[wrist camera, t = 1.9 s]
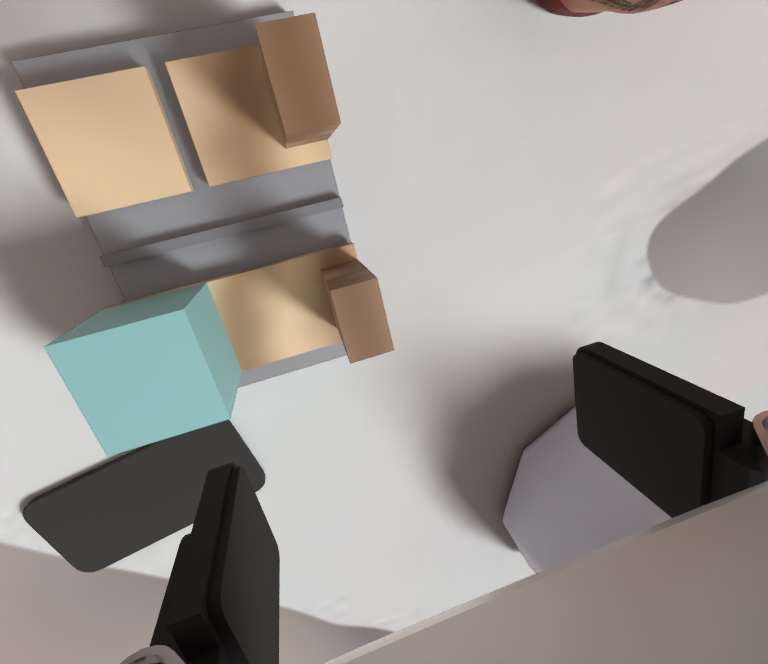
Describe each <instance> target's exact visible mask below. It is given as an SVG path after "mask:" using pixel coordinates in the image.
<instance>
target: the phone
mask: <svg viewBox="0 0 768 664" xmlns="http://www.w3.org/2000/svg"><path fill="white" fill-rule="evenodd" d="M231 462H232V463H234V464H235V466H236V467H237V466H240V465H242V466H243V467H244V468H245V470H246V473H247V475H248V477H249V480H250V482H251V484H252V487H253V489H254V491H255V492H257V491H258V490H260V489H261V488H262V487H263V485H264V483H265V473H264V471H263V469H262V468H261V466H260V465H259V463H258V462H257V460H256V459H255V457H254V456H253V454H252V453H251V451H250V450H249V448H248V447H247V445H246V444H245V442H244V441H243V439H242V438H241V436H240V435H239V433H238V432H237V430H236V429H235V427H234V426H233V425H232V423H231V422H230V421H229V420H225V421H222V422H218V423H215V424H212V425H209V426H205V427H202V428H199V429H196V430H192V431H189V432H186V433H183V434H180V435H176V436H173V437H170V438H167V439H163V440H160V441H157V442H154V443H150V444H147V445H145V446H143V447H140V448H138V449H136V450H134V451H132V452H130V453H128V454H126V455H124V456H122V457H119V458H117V459H115V460H113V461H111V462H109V463H107V464H105V465H103V466H100V467H98V468H96V469H93V470H91V471H89V472H87V473H85V474H83V475H80V476H78V477H76V478H74V479H72V480H71V481H69V482H67V483H65V484H63V485H60V486H58V487H56V488H54V489H52V490H50V491H48V492H46V493H44V494H42V495H40V496H38V497H36V498H34V499H33V500H31V501H30V502H29V503H28V505H27V506H26V507H25V508H24V510H23V517H24V519H25V521H26V522H27V523H28V524H29V525H30V526H31V527H32V528H33V529H34V530H35V531H36V532H37V533H38V534H39V535H40V536H42V537H43V538H44V539H45V540H46V541H47V542H48V543H49V544H50V545H51V546H52V547H53V548H54V549H55V550H56V551H57V552H58V553H59V554H60V555H62V556H63V557H64V558H65V559H66V560H67V561H68V562H69V563H70V564H71V565H72V566H73V567H75V568H76V569H77V570H80V571H82V572H95V571H98V570H100V569H103V568H105V567H107V566H109V565H111V564H113V563H115V562H117V561H119V560H121V559H123V558H125V557H127V556H129V555H131V554H133V553H135V552H137V551H139V550H141V549H143V548H145V547H147V546H149V545H151V544H153V543H155V542H157V541H159V540H161V539H163V538H165V537H167V536H169V535H171V534H173V533H175V532H177V531H179V530H181V529H183V528H185V527H187V526H189V525H191V524H193V523H194V521H195V517H196V513H197V509H198V506H199V502H200V498H201V495H202V491H203V487H204V484H205V480H206V476H207V473H208V470H210V469H213V468H216V467H219V466H222V465H225V464H228V463H231Z"/></svg>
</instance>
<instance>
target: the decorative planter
mask: <svg viewBox="0 0 768 664" xmlns="http://www.w3.org/2000/svg"><path fill="white" fill-rule="evenodd" d="M679 1H682V0H536V2H537V3H538V4H539V5H540V6H541V7H542V8H544V9H545V10H546V11H548V12H550V13H553V14H556V15H561V16H572V17H584V16H590V15H595V14H598V13H601V12H603V11H612V12H617V13H626V14H633V13H639V12H645V11H649V10H653V9H657V8H660V7H664V6H667V5H670V4H673V3H676V2H679Z"/></svg>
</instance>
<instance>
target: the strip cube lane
mask: <svg viewBox="0 0 768 664" xmlns="http://www.w3.org/2000/svg"><path fill="white" fill-rule="evenodd" d="M203 283H207V284H208V286H209V289H210V291H211V294H212V296H213V299H214V302H215V304H216V307H217V309H218V312H219V314H220V317H221V319H222V322H223V324H224V327H225V330H226V332H227V335H228V337H229V340H230V342H231V345H232V347H233V350H234V352H235V355H236V357H237V360H238V363H239V365H240V368H241V370H242V371H244V370H247V369H251V368H254V367H258V366H261V365H264V364H268V363H271V362H275V361H278V360H281V359H285V358H288V357H291V356H295V355H298V354H302V353H305V352H308V351H312V350H315V349H319V348H322V347H325V346H329V345H332V344H336V343H339V342H342V343H343V345H344V348H345V350H346V353H347V356H348V358H349V361H350V364H351V363H354V362H357V361H361V360H364V359H367V358H370V357H374V356H377V355H380V354H384V353H387V352H390V351H393V350H394V347H393V343H392V339H391V335H390V330H389V326H388V322H387V318H386V313H385V309H384V305H383V301H382V296H381V292H380V288H379V284H378V279H377V277H376V276H375V275H374V274H372V273H371V272H370V271H369V270H368V269H367V268H366V267H365V266H364V265H363V264H362V263H361V262H360V261H359V260H358V259H357V256H356V252H355V248H354V244H353V243H352V242H351V243H347V244H343V245H339V246H336V247H332V248H328V249H324V250H320V251H317V252H313V253H309V254H305V255H301V256H298V257H294V258H290V259H286V260H282V261H279V262H275V263H271V264H267V265H263V266H260V267H256V268H252V269H248V270H244V271H241V272H237V273H233V274H229V275H225V276H222V277H218V278H214V279H210V280H206V281H202V282H199V283H195V284H191V285H187V286H183V287H180V288H176V289H172V290H168V291H164V292H161V293H157V294H153V295H149V296H145V297H142V298H138V299H134V300H130V301H126V302H123V303H119V304H115V305H111V306H107V307H105V308H104V309H108V308H112V307H115V306H119V305H123V304H127V303H131V302H134V301H138V300H142V299H146V298H150V297H153V296H157V295H161V294H165V293H169V292H172V291H176V290H180V289H184V288H188V287H191V286H195V285H199V284H203ZM104 309H102V310H104Z"/></svg>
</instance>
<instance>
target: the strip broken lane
mask: <svg viewBox="0 0 768 664" xmlns="http://www.w3.org/2000/svg"><path fill="white" fill-rule="evenodd" d="M255 28H256V34H257V39H258V45H253V46H248V47H243V48H237V49H232V50H227V51H222V52H216V53H211V54H206V55H201V56H195V57H190V58H185V59H180V60H174V61H169V62H165V64H166V67H167V70H168V72H169V75H170V78H171V81H172V84H173V86H174V89H175V92H176V95H177V97H178V100H179V103H180V106H181V109H182V111H183V114H184V117H185V120H186V122H187V125H188V128H189V131H190V134H191V136H192V139H193V142H194V145H195V148H196V150H197V153H198V156H199V159H200V161H201V164H202V167H203V170H204V173H205V175H206V178H207V181H208V184H209V186H210V187H214V186H218V185H222V184H226V183H231V182H235V181H239V180H244V179H248V178H252V177H256V176H261V175H265V174H269V173H274V172H278V171H282V170H286V169H291V168H295V167H299V166H304V165H308V164H312V163H316V162H321V161H325V160H329V159H332V155H331V151H330V147H329V143H328V138H329V137H330V136H331V134H332V133H333V132H334V131H335V130H336V128H337V127H338V126H339V125H340V123H341V122H340V117H339V113H338V109H337V105H336V100H335V96H334V92H333V88H332V83H331V79H330V75H329V71H328V66H327V62H326V58H325V54H324V49H323V45H322V41H321V37H320V32H319V28H318V24H317V19H316V15H315V13H310V14H305V15H299V16H294V17H288V18H283V19H277V20H272V21H266V22H261V23H256V24H255Z"/></svg>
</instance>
